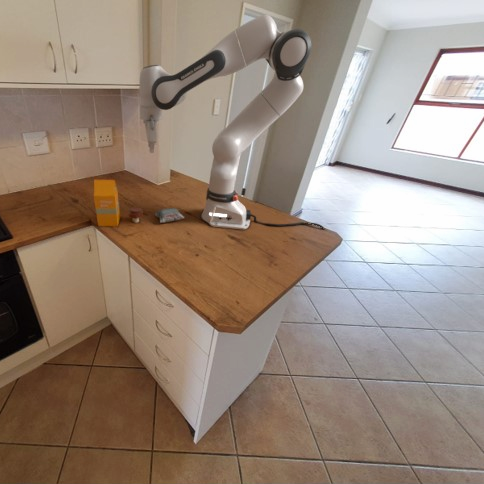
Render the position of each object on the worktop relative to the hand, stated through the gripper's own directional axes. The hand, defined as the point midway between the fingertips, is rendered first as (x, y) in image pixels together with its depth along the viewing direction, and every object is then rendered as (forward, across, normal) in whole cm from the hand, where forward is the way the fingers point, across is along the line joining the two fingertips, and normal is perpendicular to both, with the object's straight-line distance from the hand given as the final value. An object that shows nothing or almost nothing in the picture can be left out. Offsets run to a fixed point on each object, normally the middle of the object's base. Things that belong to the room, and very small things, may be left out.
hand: (151, 149), depth 109 cm
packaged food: (+29, -12, -8) cm, 32 cm away
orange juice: (+29, -12, +20) cm, 37 cm away
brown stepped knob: (+29, -11, +8) cm, 32 cm away
